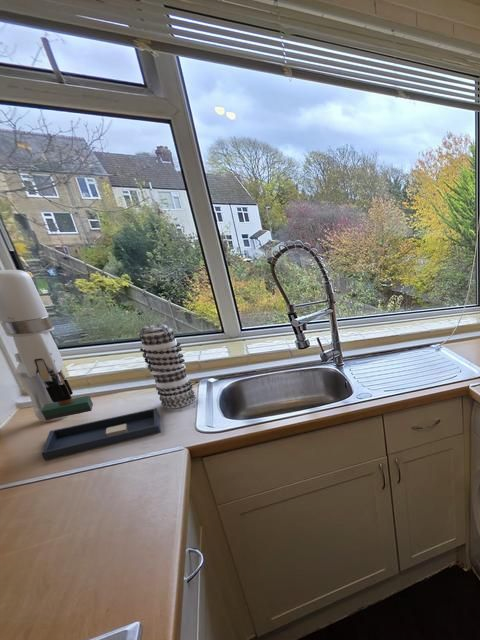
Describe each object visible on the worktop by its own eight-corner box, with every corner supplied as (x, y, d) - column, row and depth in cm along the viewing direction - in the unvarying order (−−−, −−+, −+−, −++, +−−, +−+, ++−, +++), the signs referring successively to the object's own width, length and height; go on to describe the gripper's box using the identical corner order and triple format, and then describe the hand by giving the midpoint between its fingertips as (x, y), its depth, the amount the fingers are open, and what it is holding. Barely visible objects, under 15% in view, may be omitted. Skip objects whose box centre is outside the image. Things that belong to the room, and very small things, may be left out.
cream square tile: (107, 437, 106) (105, 433, 106) (108, 431, 109) (106, 427, 109) (127, 433, 109) (125, 429, 108) (127, 427, 112) (126, 423, 111)
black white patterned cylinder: (197, 406, 125) (172, 328, 115) (159, 413, 120) (129, 332, 111) (199, 396, 132) (176, 321, 122) (163, 402, 128) (135, 324, 118)
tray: (45, 462, 97) (41, 453, 96) (54, 439, 106) (49, 430, 105) (161, 434, 110) (158, 425, 109) (159, 415, 119) (156, 407, 118)
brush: (46, 420, 98) (27, 384, 94) (49, 413, 101) (31, 378, 98) (91, 410, 103) (75, 376, 99) (93, 404, 106) (77, 370, 102)
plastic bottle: (37, 427, 112) (2, 359, 104) (41, 418, 117) (9, 352, 109) (70, 420, 116) (39, 354, 108) (73, 412, 121) (43, 348, 113)
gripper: (11, 321, 96) (46, 391, 104) (-6, 337, 85) (35, 414, 92) (56, 316, 101) (87, 384, 108) (46, 330, 90) (81, 405, 97)
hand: (63, 397), depth 100 cm, fingers closed on brush, 2 cm apart
